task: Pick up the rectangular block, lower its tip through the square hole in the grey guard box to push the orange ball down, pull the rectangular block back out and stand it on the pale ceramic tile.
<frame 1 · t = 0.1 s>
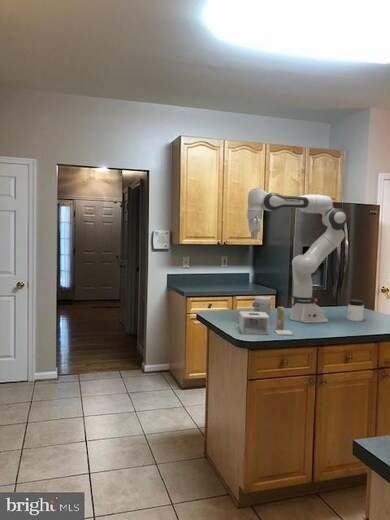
hand: (253, 239, 245), 48 cm above the counter, tool pointing down, fingers open, 8 cm apart
guard box: (253, 330, 217), on the counter
orange ball: (253, 320, 217), point 6 cm above the counter, slide at 0.0 cm
supplement tub: (261, 322, 237), on the counter
rectangular block: (279, 329, 221), on the counter
jar: (355, 320, 252), on the counter
tile: (283, 333, 212), on the counter
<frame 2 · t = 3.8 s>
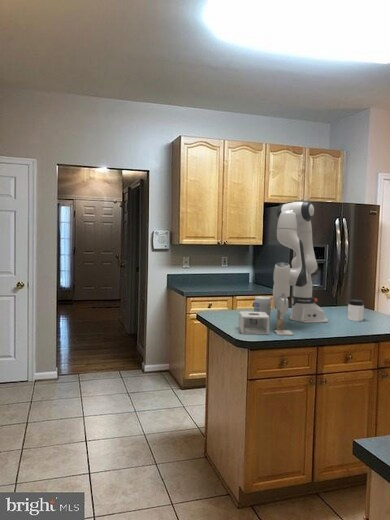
hand: (280, 318, 221), 6 cm above the counter, tool pointing down, fingers closed on rectangular block, 3 cm apart
rectangular block: (279, 329, 221), on the counter, touching gripper
everything else where it was.
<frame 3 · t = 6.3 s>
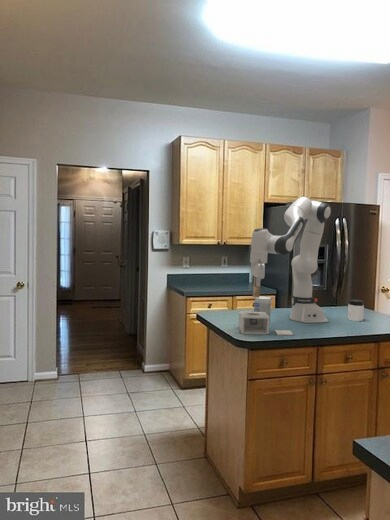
hand: (256, 285, 215), 24 cm above the counter, tool pointing down, fingers closed on rectangular block, 3 cm apart
rectangular block: (256, 297, 216), point 18 cm above the counter, touching gripper
everything else where it was.
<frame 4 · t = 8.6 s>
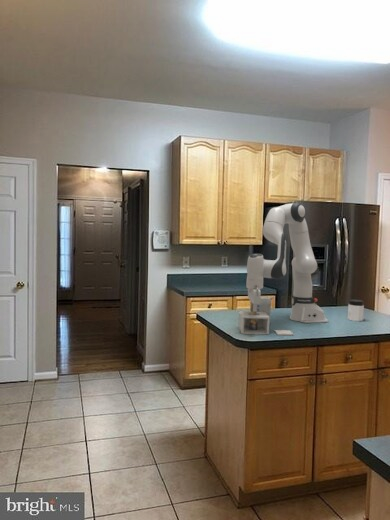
hand: (253, 310, 216), 11 cm above the counter, tool pointing down, fingers closed on rectangular block, 3 cm apart
orange ball: (253, 325, 217), point 3 cm above the counter, slide at 2.9 cm, touching rectangular block
rectangular block: (252, 321, 217), point 5 cm above the counter, touching gripper, orange ball
everything else where it was.
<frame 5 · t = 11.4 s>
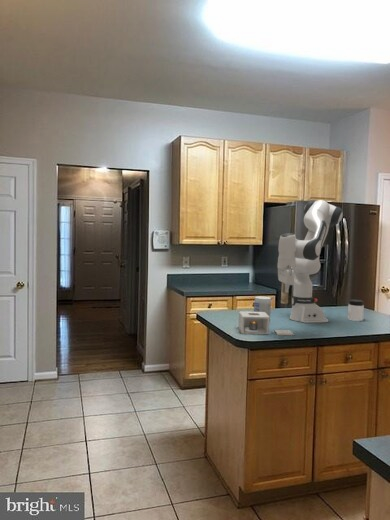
hand: (285, 291, 211), 22 cm above the counter, tool pointing down, fingers closed on rectangular block, 3 cm apart
orange ball: (253, 325, 217), point 3 cm above the counter, slide at 2.9 cm
rectangular block: (284, 303, 211), point 16 cm above the counter, touching gripper
everything else where it was.
when the fingers open (8 cm above the counter, at t = 14.0 s): rectangular block drops 1 cm, resting on tile.
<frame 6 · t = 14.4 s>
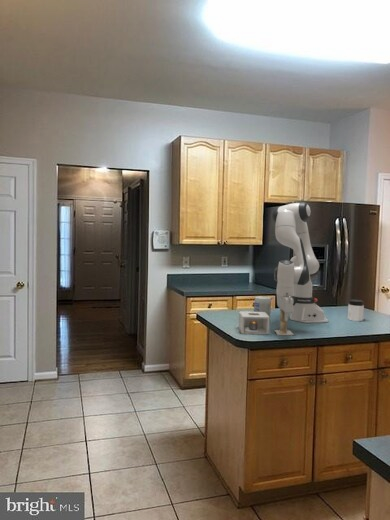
hand: (284, 318, 212), 8 cm above the counter, tool pointing down, fingers open, 7 cm apart
rectangular block: (283, 331, 212), point 1 cm above the counter, touching tile
everything else where it was.
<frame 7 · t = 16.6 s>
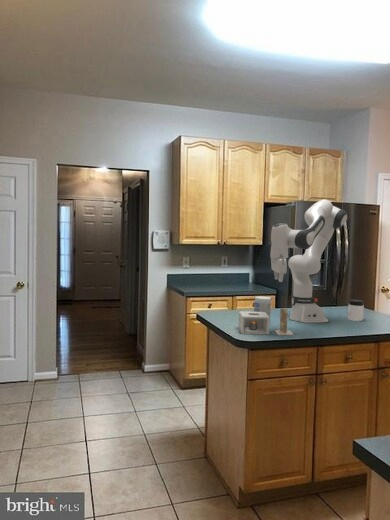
hand: (278, 280, 215), 27 cm above the counter, tool pointing down, fingers open, 8 cm apart
nothing on the counter moved.
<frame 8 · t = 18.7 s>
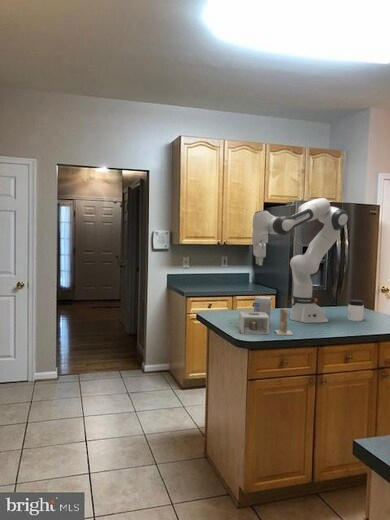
hand: (259, 264, 228), 34 cm above the counter, tool pointing down, fingers open, 8 cm apart
nothing on the counter moved.
at the end: orange ball slide at 2.9 cm; rectangular block inside the target area on the tile (0.3 cm from its centre), point 0.8 cm above the tile's base; rectangular block tilted 0° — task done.
